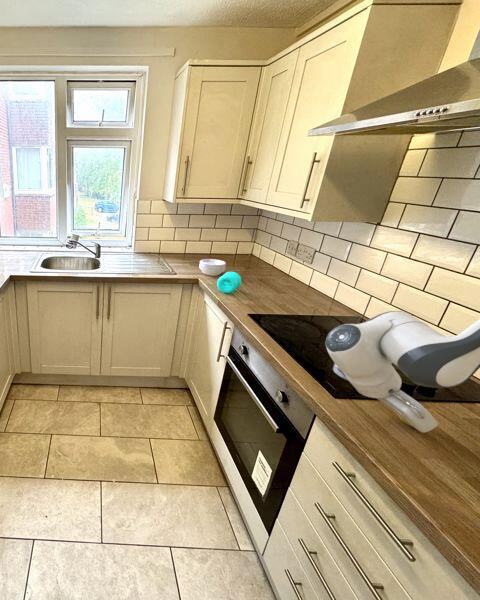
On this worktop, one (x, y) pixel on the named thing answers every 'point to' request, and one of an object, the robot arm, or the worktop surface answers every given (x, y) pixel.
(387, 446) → the worktop surface
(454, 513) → the worktop surface
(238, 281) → the turquoise rounded cylinder
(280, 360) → the worktop surface
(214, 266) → the paper bowls
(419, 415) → the robot arm
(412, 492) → the worktop surface
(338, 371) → the pale grey round dish
